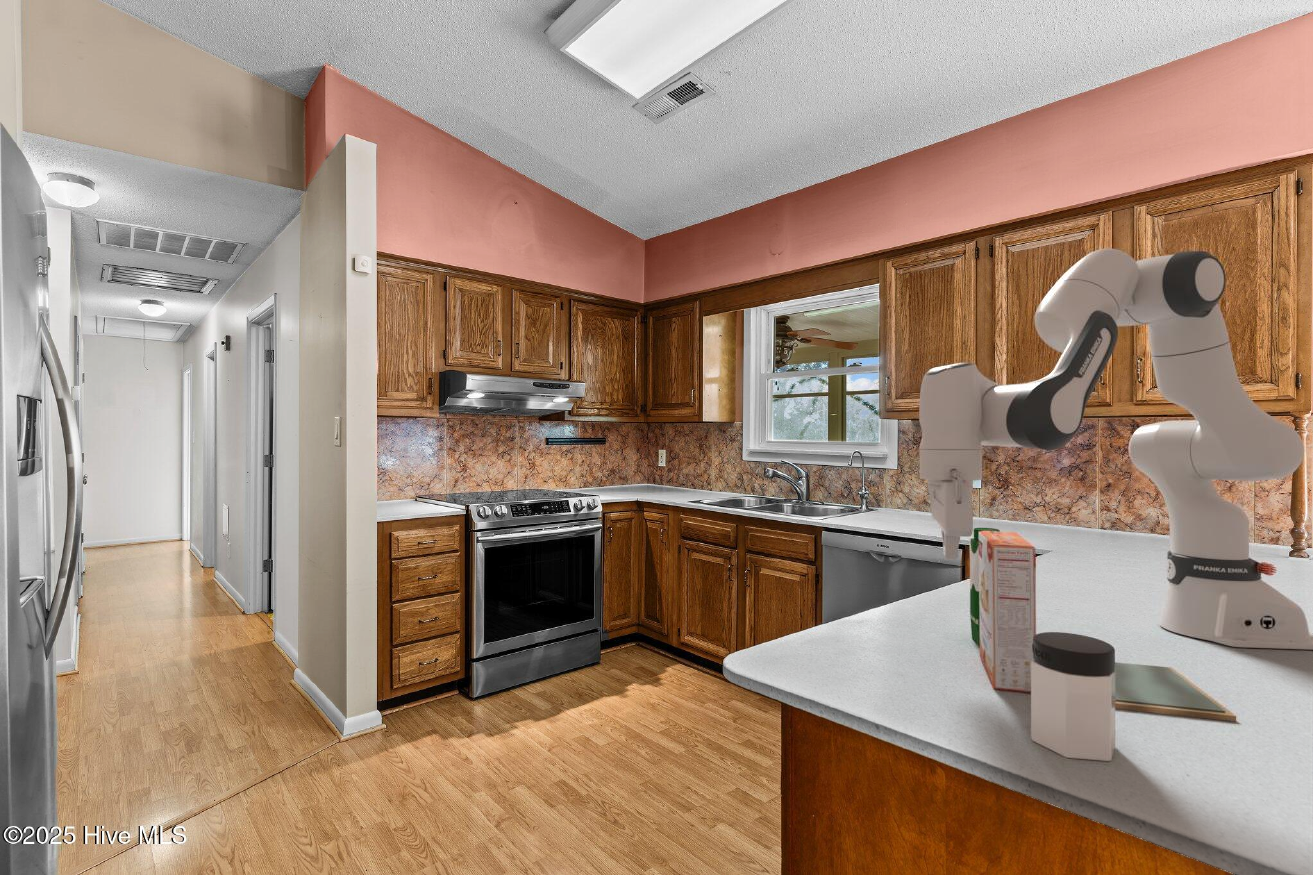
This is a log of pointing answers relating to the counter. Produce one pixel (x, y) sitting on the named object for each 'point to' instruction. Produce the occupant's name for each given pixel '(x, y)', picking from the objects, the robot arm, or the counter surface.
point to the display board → (1163, 693)
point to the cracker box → (1007, 608)
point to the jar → (1073, 695)
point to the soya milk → (975, 583)
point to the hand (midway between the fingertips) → (950, 557)
